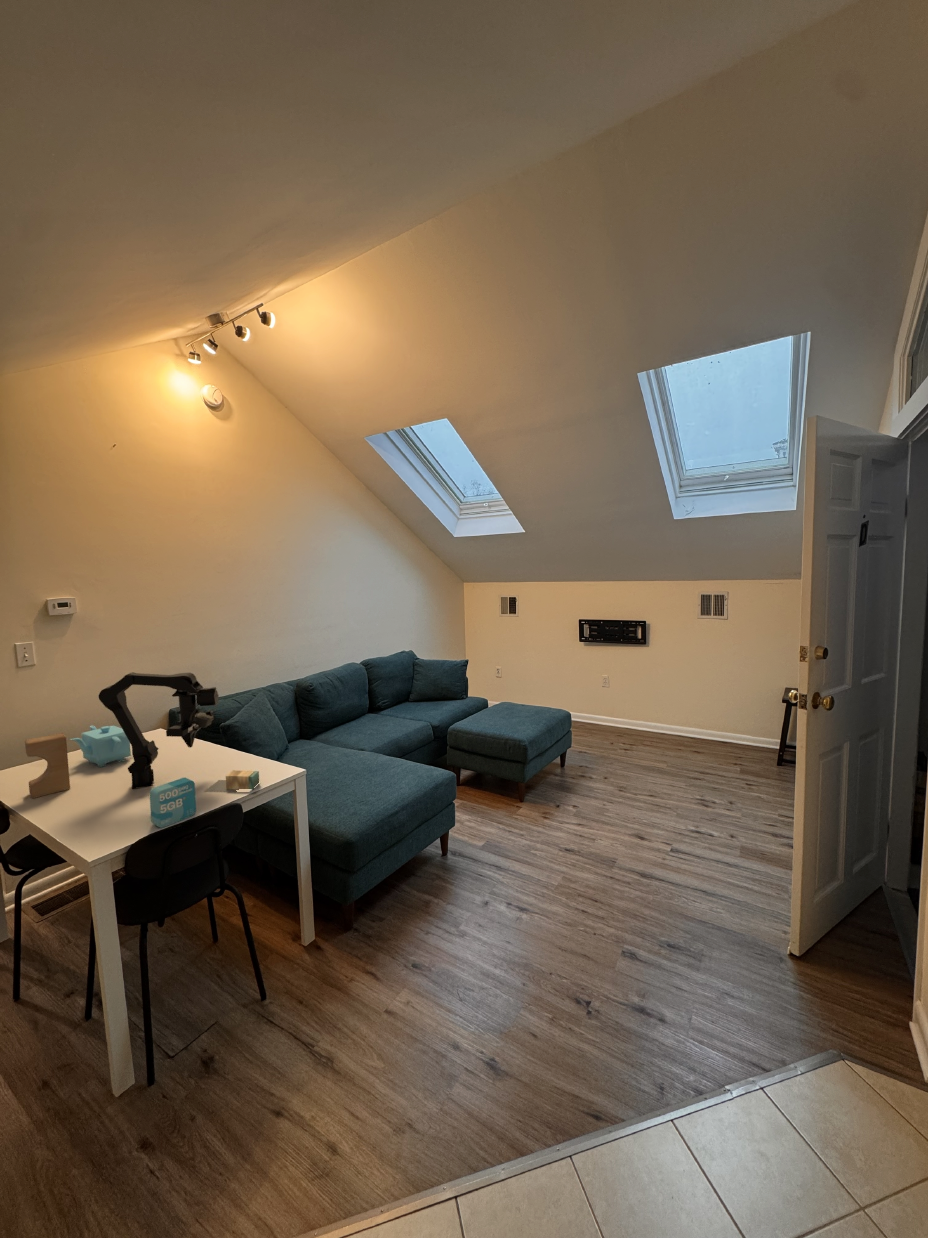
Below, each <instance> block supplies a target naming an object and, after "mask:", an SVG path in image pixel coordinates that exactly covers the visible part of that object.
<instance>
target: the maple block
mask: <svg viewBox="0 0 928 1238" xmlns="http://www.w3.org/2000/svg"><path fill="white" fill-rule="evenodd" d="M225 780H226V789H253V788H254V787H255V786H256V785H257V784H258V783H259V781H260V771H258V770H236V769H235V770H231V771H230V772H229V773H227V774H226V775H225Z"/></svg>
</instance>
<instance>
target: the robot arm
mask: <svg viewBox="0 0 928 1238" xmlns="http://www.w3.org/2000/svg"><path fill="white" fill-rule="evenodd" d="M132 686H147V687H148V686H150V687H152V686H153V687H167V688H170V689H173V690H175V692H174V693H173V694H172V695H171V697H173V698H174V697H178V709H179V710H176V714H177V715H179V721H177V725H173V726H171V727H168V728H167V729H166V731H165V735H166V737H177V738H179V737H181V739H182V740H183V741H184V743H185V744H186V745H187V747H188V748H189V749H190V748H193V746H194V745H193V744H194V742H195V738H196V735H197V732H198V731H199V730H201V728H203V729H204V728H207V727H208V726H211V725H212V722H213V721H214V720H215V717H214V716H215V714H214V711H213V710H208V711H207V712H201V709H200V708H199V707H211V706H218V704H219V700H220V699H219V693H218V690H217V687H216V686H215V687H214V686H213V687H205V688H204V687H203V685H202V684H201V683H200V682H199V681H198V679H197V676H196V675H195V674H194V673H193V672H182V673H175V674H158V673H157V674H156V673H141V672H138V673H137V672H129V673H127V674H126V675H124V676H123V677H122V678H121V679H119V680H118V681H117V682H116V683H114V684H111V685H109V686H106V687H105V688H104V689H101V691H99V694H98V700H99V702H100V703H102V705H103V706H104V707H105V708H106V709H108V710H109V711H111V713H113V715H114V717H115V719H116V721H117V722H118V724H119V726H120V728H122V729H123V731H124V733H125V735H126V737H127V738H128V740H129V742H130V747H131V756H132V759H133V762H132V763H131V764H130V765H129V766H128V767H127V770H128V773H129V774H131V789H133V790H134V789H140V788H145V787H149V786H150V787H151V786H153V785H154V783H153V782H154V781H155V777H154V769H153V768H152V764H153V762H155V760H156V759H157V758H158V755H159V748H158V747H157V746H156V743H155V741H154V740H150V741H149V740H148V739H146V738H145V736H144V734H143V733H142V730H141V728H140V727H139V724H137V722H136V719H135V718H134V716H133V715H132V712H131V711H130V709H129V707H128V705H127V695H126V691H127V690H128V689H129V688H131V687H132ZM197 705H198V706H199V707H197Z"/></svg>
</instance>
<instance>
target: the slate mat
mask: <svg viewBox="0 0 928 1238" xmlns="http://www.w3.org/2000/svg"><path fill="white" fill-rule="evenodd" d="M236 790H239V789H226V779H218V780H217V781H216V782H214V783H213V784H212V785H210V786H209V787H207V788H206V789H205V790H204V791H203V792H204V793H206V792H208V793H234V794H235V793H236V792H237V791H236Z"/></svg>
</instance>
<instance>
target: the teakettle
mask: <svg viewBox="0 0 928 1238" xmlns="http://www.w3.org/2000/svg"><path fill="white" fill-rule="evenodd" d="M136 723H137V722H136ZM137 725H139V724H138V723H137ZM89 729H90V730H89V731H84V732H81V738H80V737H74V738H70V739H69V741H75V742H76V743H77V744H78V747H79V748H80V751H81V752H82V757H83V759H85V760H87V761H89V764H95V765H97V766H96V767H97V768H102V767H106V766H107V763H111V762H115V761H116V762H123V761H125V760H126V758H128V757H131V756H132V749H131V744H130V742H129V740H128V738H127V737H126V735H125V733H124V731H123V729H122V728H121V727H118V726H116V725H106V726H105V725H104V726H101V727H99V728H97V727H96V726H95V725H90V726H89Z"/></svg>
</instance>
